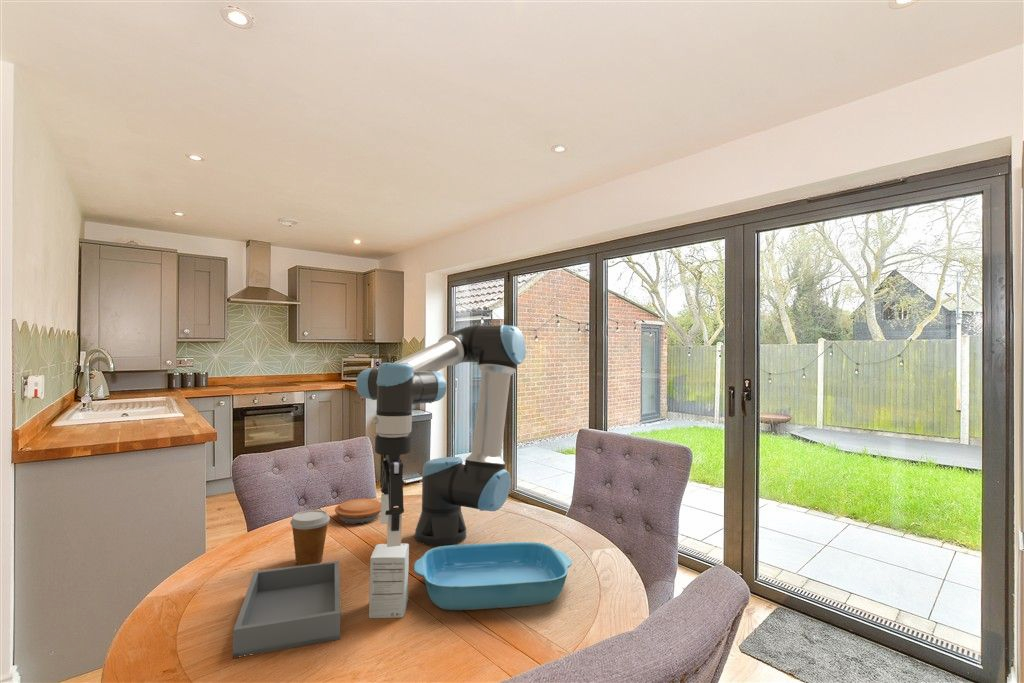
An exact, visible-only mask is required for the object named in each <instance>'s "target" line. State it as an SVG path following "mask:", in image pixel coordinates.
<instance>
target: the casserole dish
mask: <svg viewBox="0 0 1024 683" xmlns="http://www.w3.org/2000/svg"><path fill="white" fill-rule="evenodd" d="M571 566H572V560H571V558H570V557H569V556H568V554H566V553H565V552H564V551H561V550H558V549H555V548H553V547H552V546H550V545H549V544H546V543H544V542H543V543H542V542H535V541H534V542H533V541H517V542H516V541H515V542H514V541H512V542H511V541H510V542H494V543H493V542H490V543H466V544H454V545H449V546H435V547H433V548H431V549H428V550H427V551H426V552H425V553H424V554H423V555H422V556H421V557H419V559H417V560H416V561H415V562H414V564H413V570H414V573H415V574H416V575H417V576H419V577H423V578H424V583H425V587H426V591H427V595H428V597H429V599H430V600H431V602H432V603H433V604H434V605H436V606H437V607H438V608H440V609H442V610H448V611H472V610H473V611H474V610H486V609H498V608H500V609H502V608H505V609H506V608H514V607H515V608H517V607H528V606H537V605H544V604H549V603H551V602H553V601H554V600H556V599H557V598H558V597H559V596H560V594H561V593H562V590H563V588H564V586H565V582H566V580H567V577H568V572H569V569H568V568H570V567H571Z"/></svg>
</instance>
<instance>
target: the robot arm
mask: <svg viewBox="0 0 1024 683" xmlns="http://www.w3.org/2000/svg"><path fill="white" fill-rule="evenodd" d="M526 346H527V345H526V342H525V337H524V335H523V333H522V331H521V330H520V328H518V327H517V326H515V325H506V324H497V325H475V324H474V325H469V326H466V327H462V328H460V329H457V330H455V331H452V332H449V333H448V334H446V335H443V336H441V337H440V338H439V339H438V341H437V342H436V343H433V344H431V345H429V346H427V347H425V348H423V349H420V350H419V351H416V352H414V353H412V354H409V355H407V356H405V357H403V358H401V359H399V360H396V361H394V362H382V363H381V364H379V365H378V368H373V367H371V368H367V369H364V370H362V371H361V372H359V373H358V375H357V378H356V382H355V387H356V391H357V393H358V395H360V397H362V398H363V399H369V400H371V401H376V411H375V413H376V414H375V416H376V418H374V419H373V420H372V423H373V424H375V433H376V434H377V435H376V436H375V438H374V452H375V454H377V455H382V457H383V458H382V459H383V460H381V479H380V489H381V490H380V491H381V497H380V503H381V512H380V522H379V523H380V525H386V524H387V525H386V526H387V527H386V528H387V529H386V544H387V547H393V546H401V544H402V526H403V525H402V522H403V519H402V518H403V514H404V512H405V508H404V481H403V480H404V479H403V476H404V475H403V468H404V462H403V461H402V459H401V458H400V457H401V455H407V454H408V453H410V452H411V450H412V448H411V446H412V436H411V435H410V433H412V429H413V428H412V424H413V405H418V404H428V403H429V404H432V403H436V402H438V401H440V400H441V399H443V398H444V397H445V395H446V393H447V381H446V379H445V377H444V375H443V374H442V373H441V372H439V371H441V370H443V369H445V368H446V367H448V366H452V367H453V366H457V365H459V364H461V363H478V364H477V367H478V369H479V370H480V371H481V379H480V386H479V394H478V403H477V410H476V417H475V425H474V432H473V440H472V448H471V453H470V454H469V455H468V456H467V457H466V458H465V460H464V464H463V458H462V457H460V456H447V457H446V456H445V457H438V458H434V459H430V460H427V461H425V463H424V464H423V466H422V467H423V468H422V475H421V479H422V480H421V481H422V482H421V488H422V489H421V513H420V516H419V518H418V522H417V524H416V527H415V532H414V539H415V541H416V542H417V543H419V544H421V545H424V546H428V547H441V546H450V545H458V544H459V543H462V542H464V540H465V539H466V538H467V525H466V523H465V519H464V516H463V511H462V507H464V508H470V509H475V510H479V511H482V512H485V511H487V512H497V511H499V510H500V509H501V508H502V507H503V506H504V505H505V503H506V502H507V499H508V497H509V494H510V492H511V491H510V490H511V486H512V479H511V474H510V472H509V471H508V470H507V469H505V468H506V462H505V461H504V460H503V458H502V452H503V450H502V449H503V444H504V443H503V442H504V441H503V440H504V434H505V425H506V416H507V409H508V408H507V407H508V399H509V391H510V390H509V389H510V383H511V376H512V375H513V374H515V373H516V372H517V368H518V365H520V364H522V363H523V362H524V360H525V358H526V352H527V348H526Z"/></svg>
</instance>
